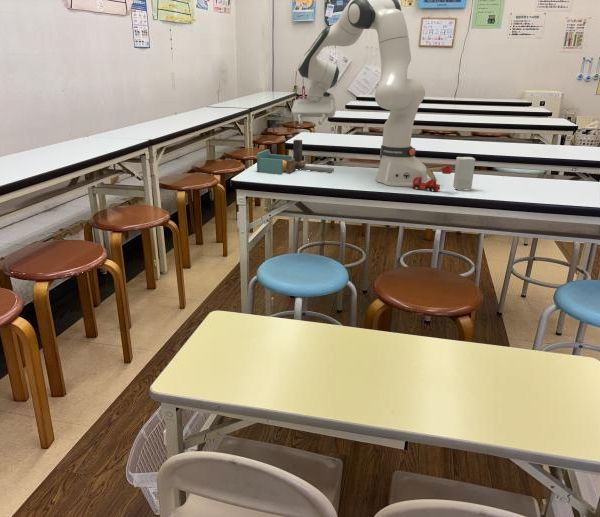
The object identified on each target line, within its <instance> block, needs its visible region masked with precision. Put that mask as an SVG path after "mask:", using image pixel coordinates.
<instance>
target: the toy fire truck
mask: <svg viewBox="0 0 600 517" xmlns="http://www.w3.org/2000/svg"><path fill="white" fill-rule="evenodd" d="M438 171H439V172H440V171H441V173H442V174H444V175H450V174H452V173H453V167H451V166H447V165H444V166H440V167H438V166H437V167H432V168H431V167H430V168H428V169H427V171H426V173H427V176H428V178H430V179H431V180H430V181H428V182H426V183H421V179H422V177H416V178H414V180H413V187H411V188H412V189H413V188H414V189H418V190H423V191H427V190H430V191H431V190H433V191H434V192H438V190H439V191H440V189H441V184H437V180H438V179H437V178H436V176H435V174H434V172H438Z"/></svg>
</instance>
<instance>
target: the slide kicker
mask: <svg viewBox="0 0 600 517" xmlns="http://www.w3.org/2000/svg"><path fill="white" fill-rule="evenodd" d="M292 142H293V143H292V144H293V146H292V147H293V150H292V154H293V155H292V159H290V160H288V161H287V170H286V173H287V174H290V173H293V172H294V171H296V170H295V166H298V167H303V166H306V160H303V140H302V139H294V140H293V141H292Z"/></svg>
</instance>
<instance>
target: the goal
mask: <svg viewBox="0 0 600 517" xmlns="http://www.w3.org/2000/svg"><path fill="white" fill-rule="evenodd" d="M290 159H293V155H285V154H271V152H270V149H268V148H267V149H264V150H262V151H259V152H257V153H256V173H262V174H272V175H283V174H284V172H283V160H285V161H288V160H290Z"/></svg>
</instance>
